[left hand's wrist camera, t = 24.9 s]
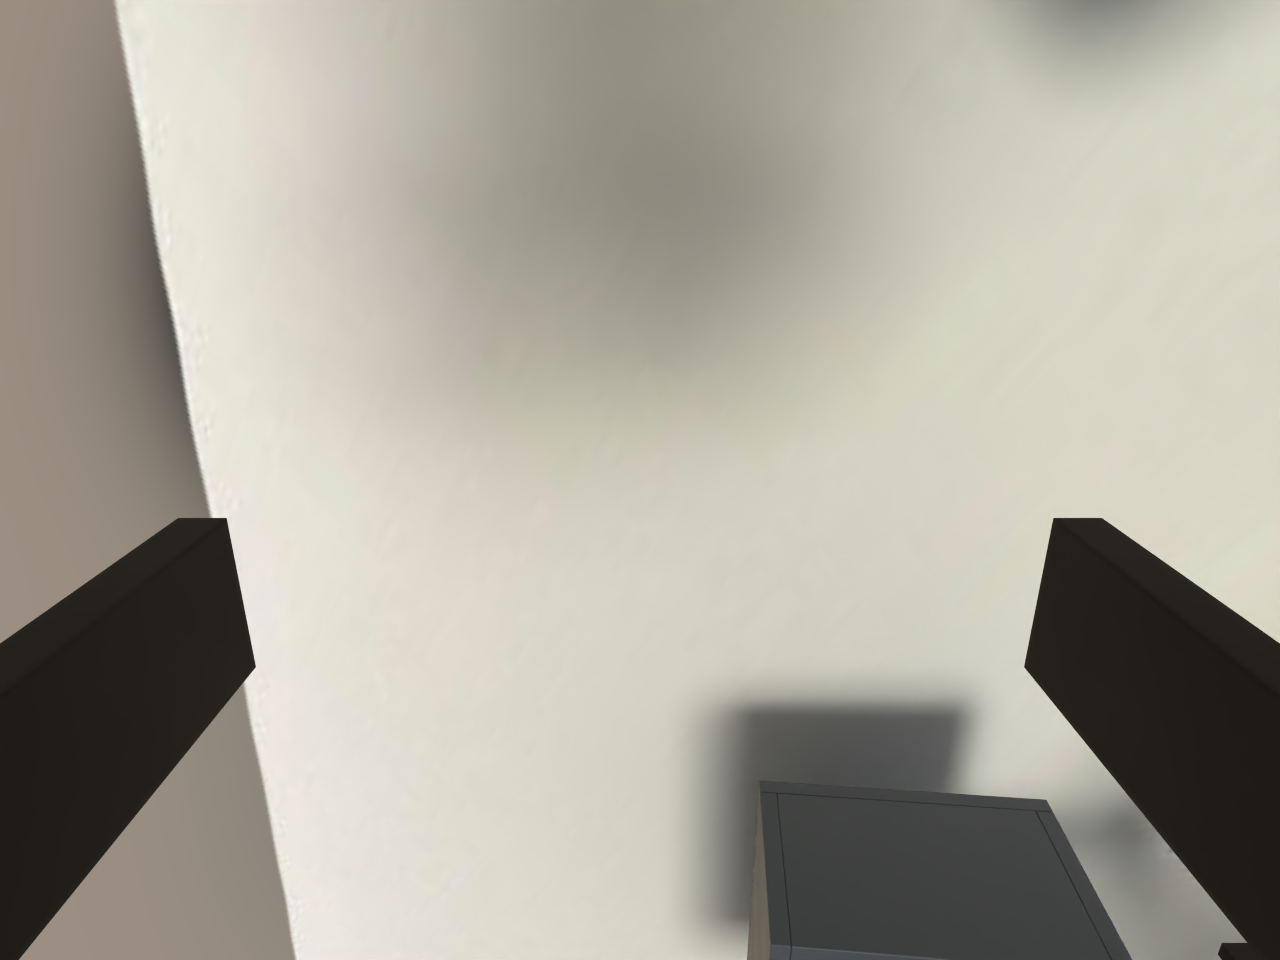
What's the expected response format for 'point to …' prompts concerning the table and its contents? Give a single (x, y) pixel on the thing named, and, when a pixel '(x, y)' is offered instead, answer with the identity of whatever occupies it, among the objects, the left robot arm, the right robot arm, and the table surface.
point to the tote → (918, 879)
